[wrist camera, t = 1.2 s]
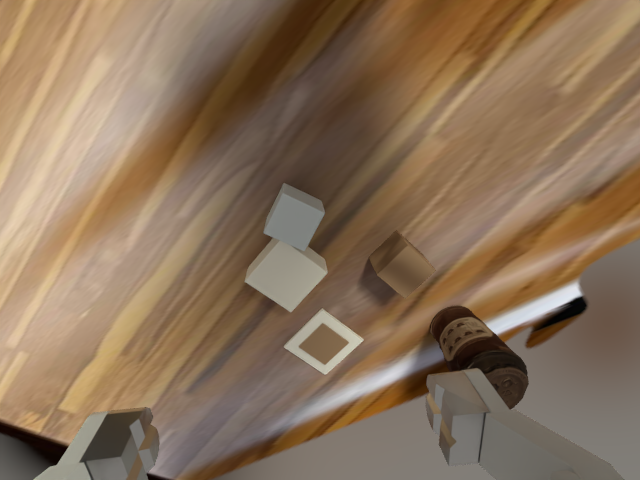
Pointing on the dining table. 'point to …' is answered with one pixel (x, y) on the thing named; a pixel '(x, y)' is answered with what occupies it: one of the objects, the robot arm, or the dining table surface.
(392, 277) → the walnut cube
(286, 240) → the grey cube
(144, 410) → the robot arm
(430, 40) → the dining table surface
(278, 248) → the plinth block
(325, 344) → the tile
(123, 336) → the dining table surface
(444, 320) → the coffee cup
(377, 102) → the dining table surface
